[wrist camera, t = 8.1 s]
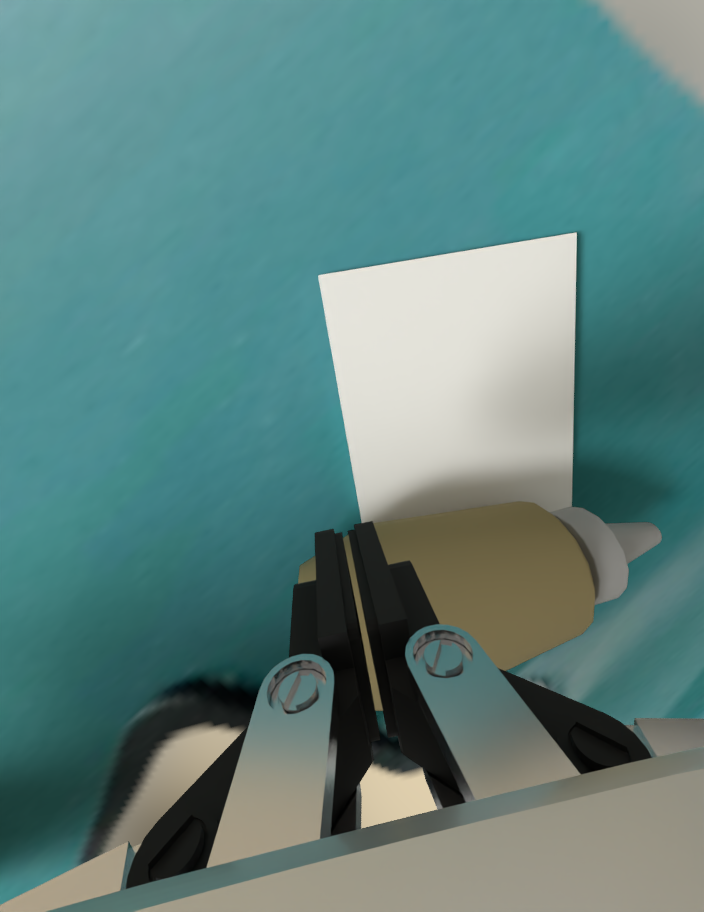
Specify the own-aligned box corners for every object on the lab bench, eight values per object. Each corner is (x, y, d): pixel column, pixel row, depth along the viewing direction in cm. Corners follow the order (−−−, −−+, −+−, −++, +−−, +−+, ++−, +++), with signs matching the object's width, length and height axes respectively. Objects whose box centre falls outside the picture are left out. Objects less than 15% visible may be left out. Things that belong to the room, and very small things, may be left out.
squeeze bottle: (339, 799, 13) (746, 652, 16) (289, 595, 12) (741, 470, 15) (319, 654, 21) (594, 571, 24) (288, 521, 20) (582, 448, 23)
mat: (564, 559, 23) (570, 565, 23) (375, 600, 23) (377, 607, 22) (568, 235, 18) (576, 232, 17) (318, 277, 17) (318, 275, 17)
